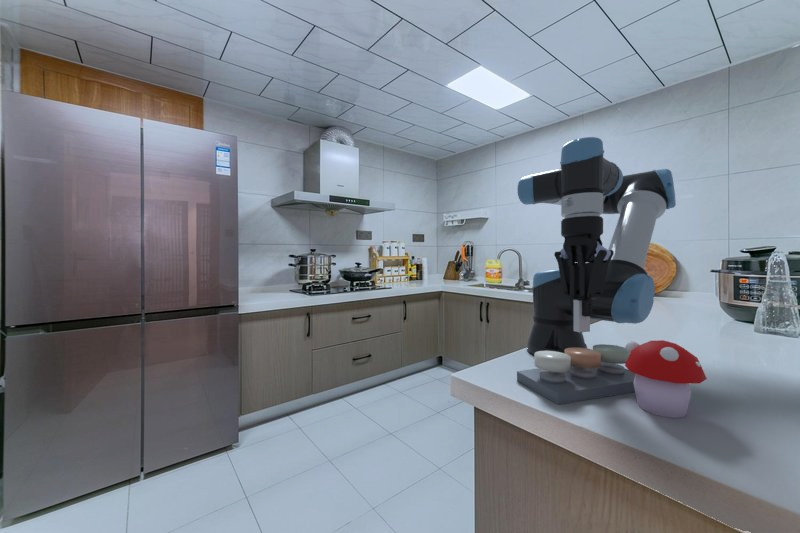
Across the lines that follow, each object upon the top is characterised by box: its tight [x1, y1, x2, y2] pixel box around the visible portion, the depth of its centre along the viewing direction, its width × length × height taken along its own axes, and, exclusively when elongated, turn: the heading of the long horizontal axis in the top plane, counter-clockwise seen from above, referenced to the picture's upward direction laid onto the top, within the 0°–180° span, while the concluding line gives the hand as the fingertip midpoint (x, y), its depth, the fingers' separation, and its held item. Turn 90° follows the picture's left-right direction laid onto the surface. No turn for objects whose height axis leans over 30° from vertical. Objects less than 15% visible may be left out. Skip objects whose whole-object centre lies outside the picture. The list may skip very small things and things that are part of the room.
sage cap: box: [592, 343, 630, 365], centre depth 68 cm, size 7×7×2 cm
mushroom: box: [624, 339, 707, 419], centre depth 55 cm, size 11×11×12 cm
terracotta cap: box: [565, 347, 601, 368], centre depth 66 cm, size 7×7×2 cm
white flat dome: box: [533, 351, 571, 372], centre depth 64 cm, size 7×7×2 cm
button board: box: [516, 361, 636, 405], centre depth 66 cm, size 12×23×3 cm, turn 105°
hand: (581, 331), depth 66 cm, fingers closed
